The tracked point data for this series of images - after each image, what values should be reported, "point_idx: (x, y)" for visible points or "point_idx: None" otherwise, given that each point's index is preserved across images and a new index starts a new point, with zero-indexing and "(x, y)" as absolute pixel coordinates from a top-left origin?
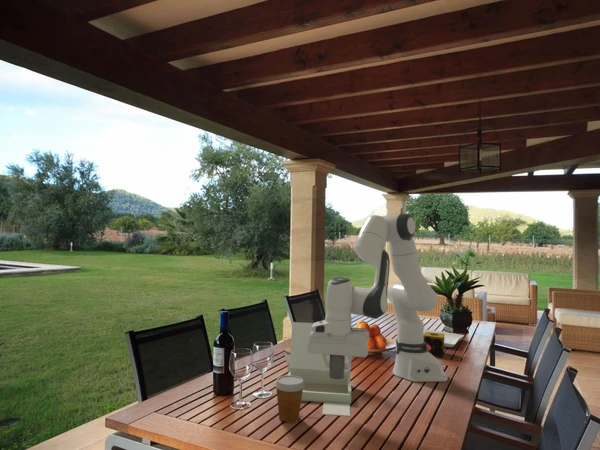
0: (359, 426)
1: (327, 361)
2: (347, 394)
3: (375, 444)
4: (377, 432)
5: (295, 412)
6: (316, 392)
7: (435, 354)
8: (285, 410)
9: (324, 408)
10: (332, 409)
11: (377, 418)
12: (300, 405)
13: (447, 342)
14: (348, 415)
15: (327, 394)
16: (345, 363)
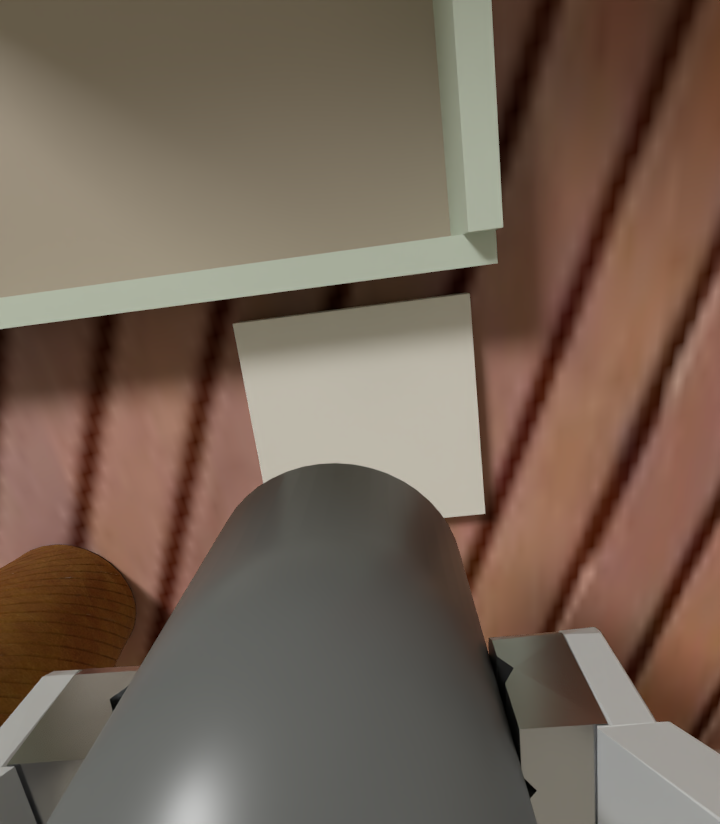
0: (548, 601)
1: (22, 769)
2: (454, 255)
3: None
4: (665, 647)
5: None
6: (125, 303)
7: None
8: None
9: (269, 445)
10: (335, 446)
11: (693, 453)
12: (97, 663)
13: None
14: (470, 513)
15: (244, 296)
16: (552, 793)
